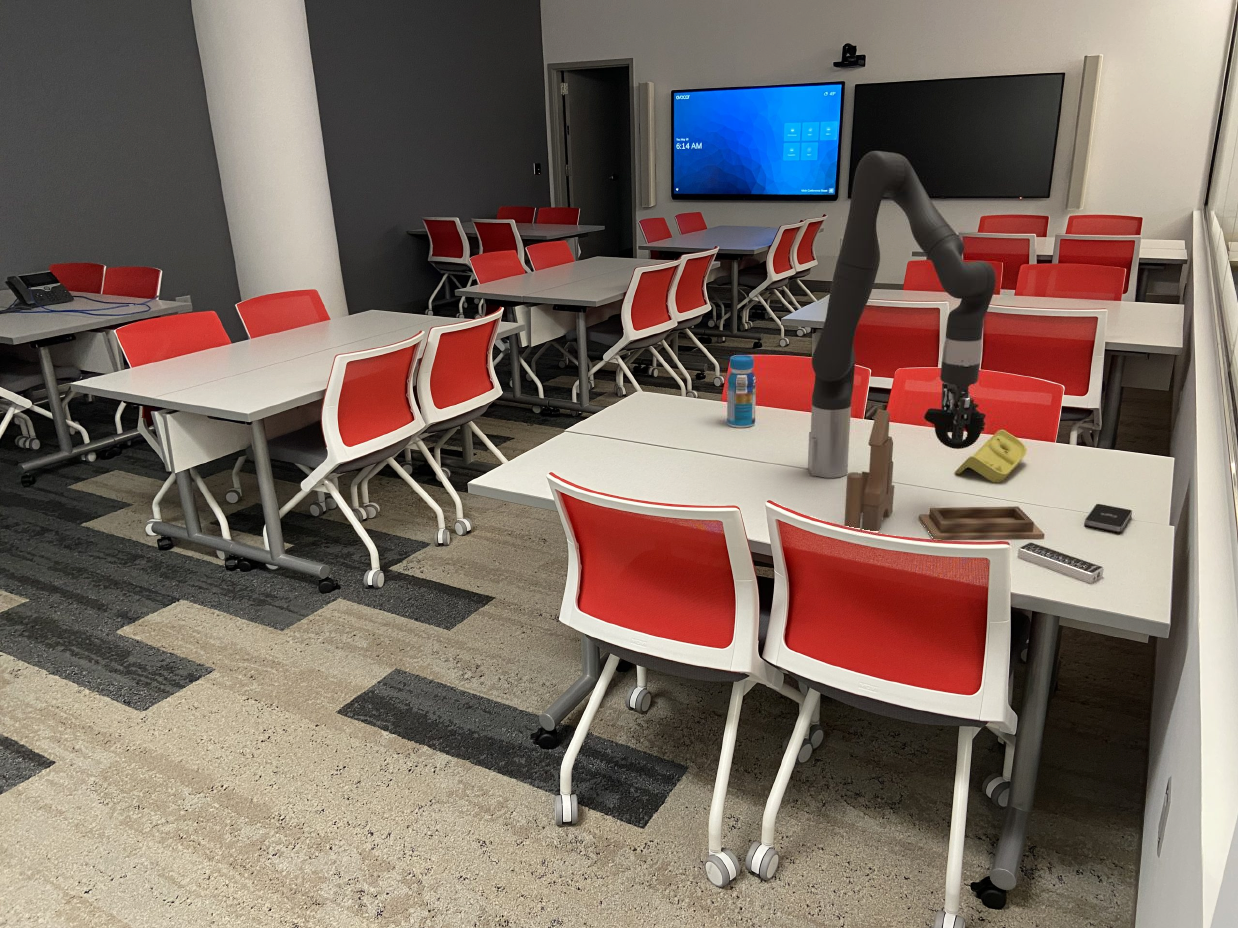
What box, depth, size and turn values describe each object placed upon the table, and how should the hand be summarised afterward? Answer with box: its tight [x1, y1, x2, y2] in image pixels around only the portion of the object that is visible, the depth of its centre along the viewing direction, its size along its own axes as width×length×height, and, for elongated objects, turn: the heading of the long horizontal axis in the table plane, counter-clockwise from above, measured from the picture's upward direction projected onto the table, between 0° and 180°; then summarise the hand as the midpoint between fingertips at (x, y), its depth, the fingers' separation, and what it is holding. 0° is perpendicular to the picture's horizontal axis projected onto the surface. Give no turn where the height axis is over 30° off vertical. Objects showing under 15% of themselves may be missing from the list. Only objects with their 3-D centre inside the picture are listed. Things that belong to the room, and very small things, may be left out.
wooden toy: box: [844, 409, 895, 532], centre depth 185 cm, size 16×7×25 cm, turn 150°
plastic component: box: [954, 429, 1028, 483], centre depth 216 cm, size 20×7×10 cm
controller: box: [923, 402, 986, 450], centre depth 189 cm, size 4×12×10 cm, turn 62°
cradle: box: [918, 506, 1045, 541], centre depth 183 cm, size 22×11×3 cm, turn 87°
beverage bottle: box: [726, 354, 757, 429], centre depth 254 cm, size 8×8×20 cm
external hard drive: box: [1083, 503, 1133, 535], centre depth 184 cm, size 7×11×2 cm, turn 141°
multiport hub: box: [1017, 541, 1105, 584], centre depth 166 cm, size 4×14×2 cm, turn 35°
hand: (952, 436), depth 190 cm, fingers closed on controller, 5 cm apart
